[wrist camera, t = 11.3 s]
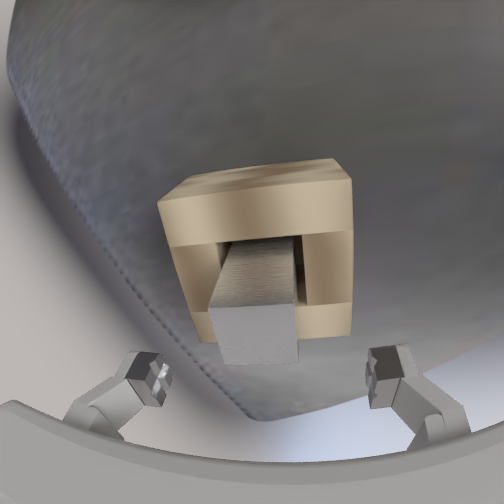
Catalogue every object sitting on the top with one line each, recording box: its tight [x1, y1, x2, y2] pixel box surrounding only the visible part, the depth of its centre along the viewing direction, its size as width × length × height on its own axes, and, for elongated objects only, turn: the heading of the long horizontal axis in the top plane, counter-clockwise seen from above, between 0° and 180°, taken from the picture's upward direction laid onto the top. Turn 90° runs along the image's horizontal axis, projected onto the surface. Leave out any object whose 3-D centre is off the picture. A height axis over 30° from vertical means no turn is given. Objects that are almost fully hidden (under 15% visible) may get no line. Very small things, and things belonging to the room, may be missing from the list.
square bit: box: [207, 235, 299, 365], centre depth 17 cm, size 3×3×10 cm
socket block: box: [157, 158, 353, 343], centre depth 19 cm, size 10×10×6 cm
